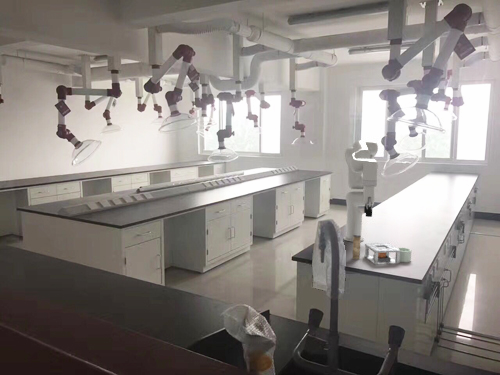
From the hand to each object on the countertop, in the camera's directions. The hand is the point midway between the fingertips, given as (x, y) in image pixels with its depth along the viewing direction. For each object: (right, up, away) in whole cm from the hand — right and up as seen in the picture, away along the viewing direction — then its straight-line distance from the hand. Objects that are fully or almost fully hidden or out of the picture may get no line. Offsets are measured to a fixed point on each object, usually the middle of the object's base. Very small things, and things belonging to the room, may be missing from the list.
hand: (367, 214), depth 215 cm
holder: (+20, -25, +3) cm, 32 cm away
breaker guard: (+9, -25, +3) cm, 27 cm away
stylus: (-5, -25, +6) cm, 26 cm away
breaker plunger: (+9, -23, +3) cm, 25 cm away
